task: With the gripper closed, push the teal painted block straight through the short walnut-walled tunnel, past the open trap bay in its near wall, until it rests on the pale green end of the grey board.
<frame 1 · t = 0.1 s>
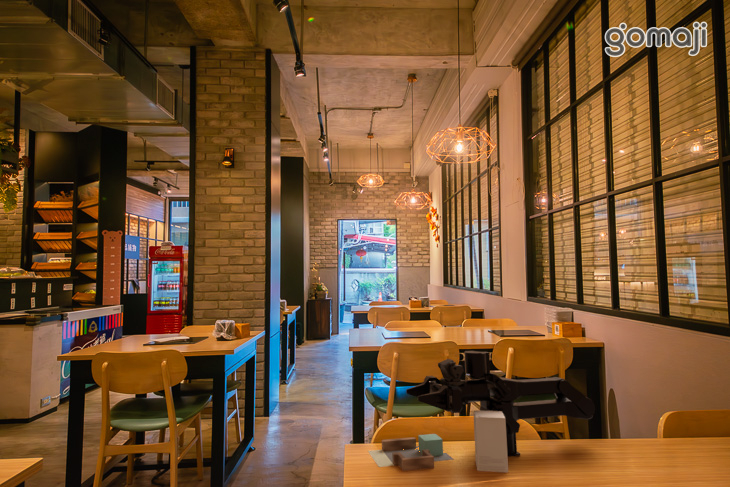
hand: (411, 395, 112), 17 cm above the table, tool horizontal, fingers open, 9 cm apart
tunnel: (405, 456, 113), on the table
grey board: (409, 456, 114), on the table
supplement box: (491, 468, 105), on the table
block: (430, 452, 115), resting on grey board
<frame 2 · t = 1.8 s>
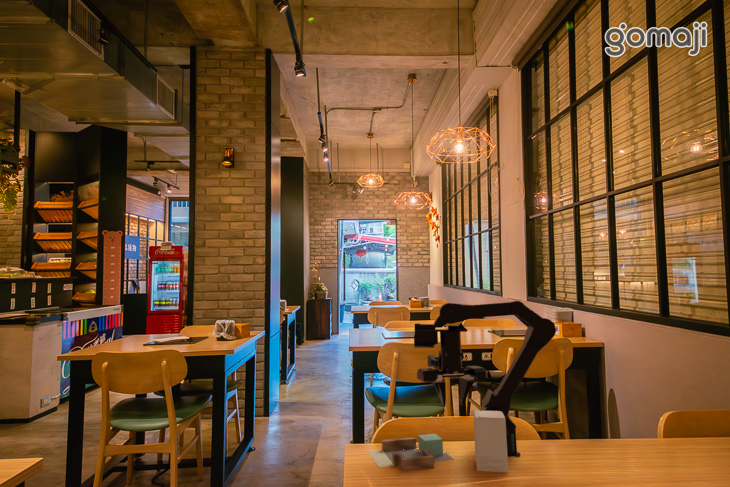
hand: (453, 405, 118), 12 cm above the table, tool pointing down, fingers open, 5 cm apart
nothing on the table moved.
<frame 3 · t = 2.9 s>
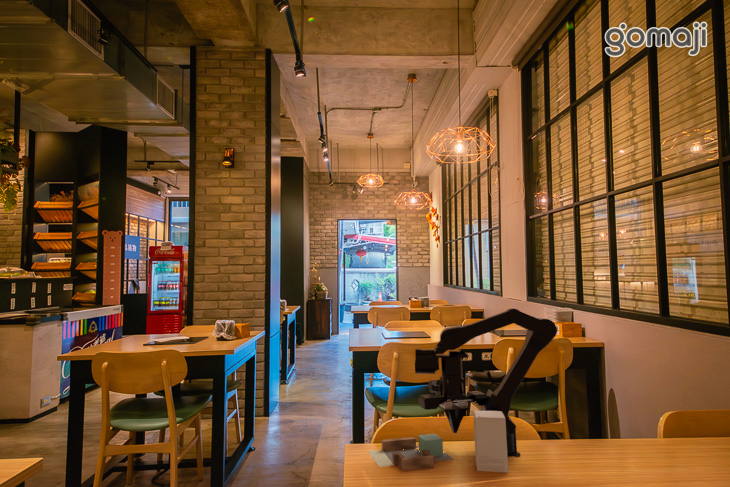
hand: (454, 432, 117), 5 cm above the table, tool pointing down, fingers closed
nothing on the table moved.
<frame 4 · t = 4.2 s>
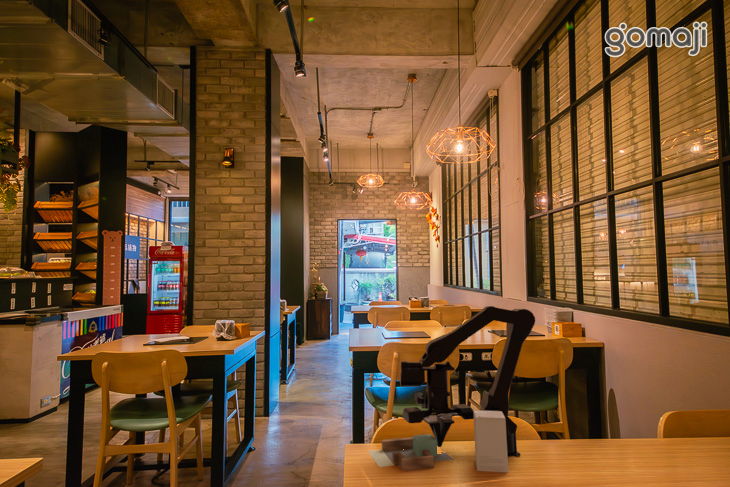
hand: (439, 446, 116), 2 cm above the table, tool pointing down, fingers closed
block: (425, 453, 115), resting on grey board, touching gripper
everything else where it was.
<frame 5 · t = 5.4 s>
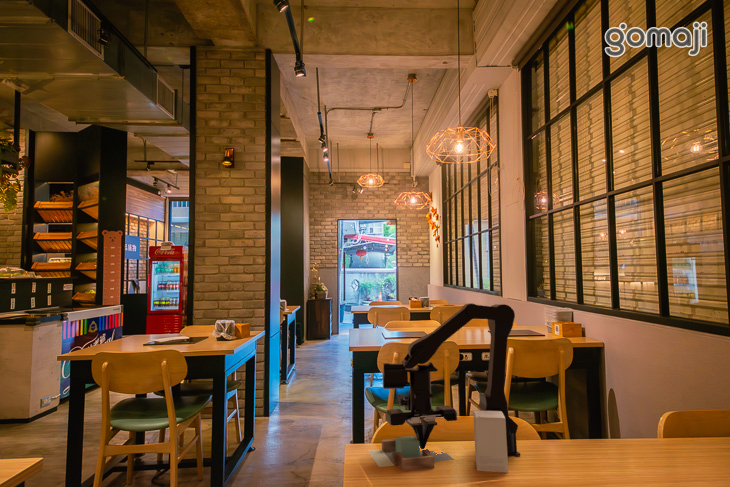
hand: (422, 448, 115), 2 cm above the table, tool pointing down, fingers closed
block: (407, 455, 114), resting on grey board, touching gripper
everything else where it was.
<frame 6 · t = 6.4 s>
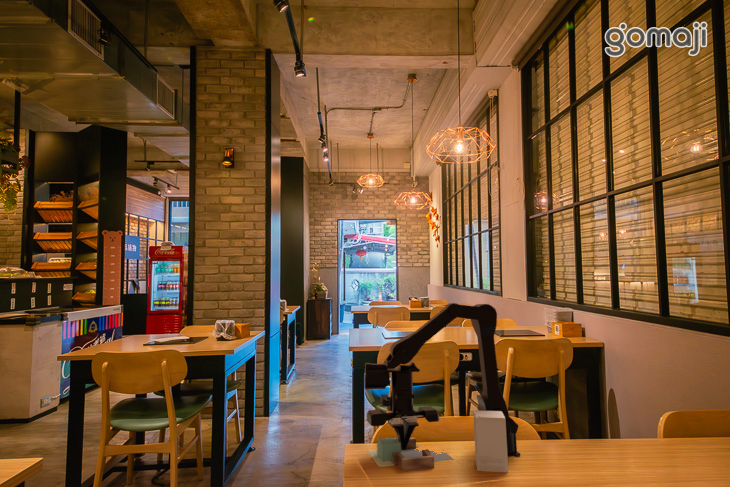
hand: (403, 449, 114), 2 cm above the table, tool pointing down, fingers closed
block: (389, 457, 112), resting on grey board, touching gripper
everything else where it was.
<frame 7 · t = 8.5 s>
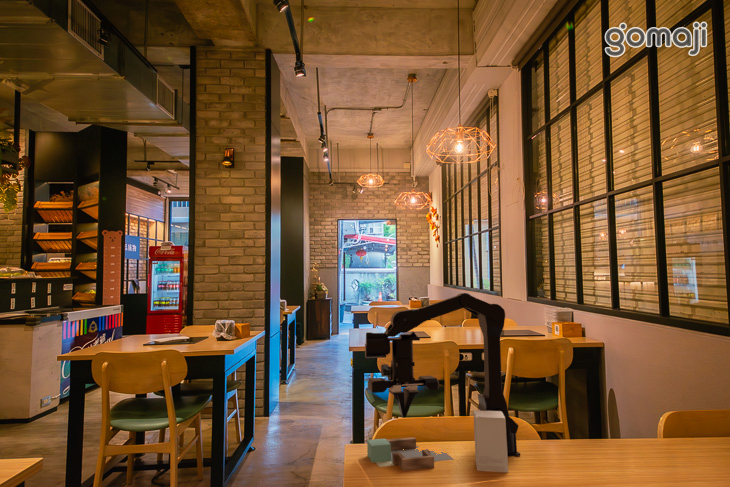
hand: (403, 417, 115), 10 cm above the table, tool pointing down, fingers closed
block: (379, 458, 112), resting on grey board
everything else where it was.
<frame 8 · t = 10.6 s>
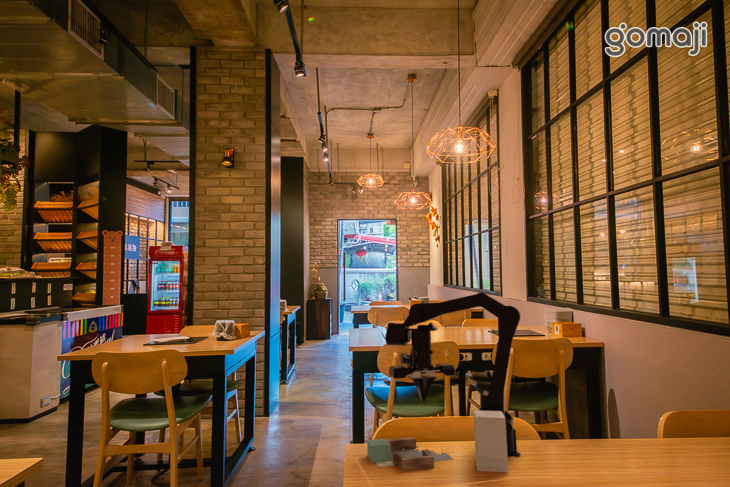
hand: (422, 401, 124), 12 cm above the table, tool pointing down, fingers closed
nothing on the table moved.
at the end: block inside the target area (0.7 cm from its centre), resting on grey board; block tilted 0° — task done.
